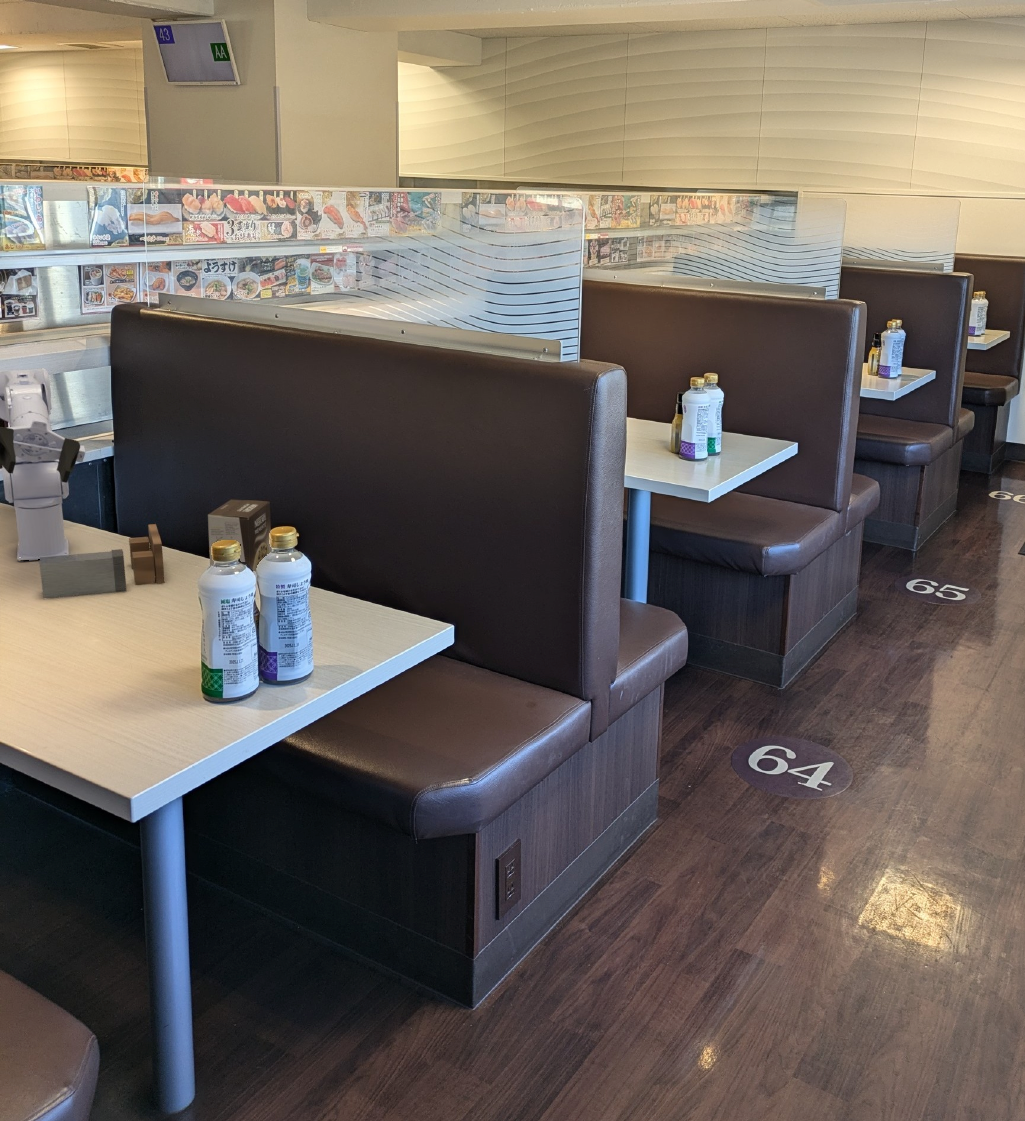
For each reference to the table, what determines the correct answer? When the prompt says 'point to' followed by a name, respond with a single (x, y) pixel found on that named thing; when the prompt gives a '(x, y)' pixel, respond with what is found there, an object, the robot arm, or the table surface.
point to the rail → (83, 574)
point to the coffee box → (242, 528)
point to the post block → (147, 557)
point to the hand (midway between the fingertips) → (39, 472)
